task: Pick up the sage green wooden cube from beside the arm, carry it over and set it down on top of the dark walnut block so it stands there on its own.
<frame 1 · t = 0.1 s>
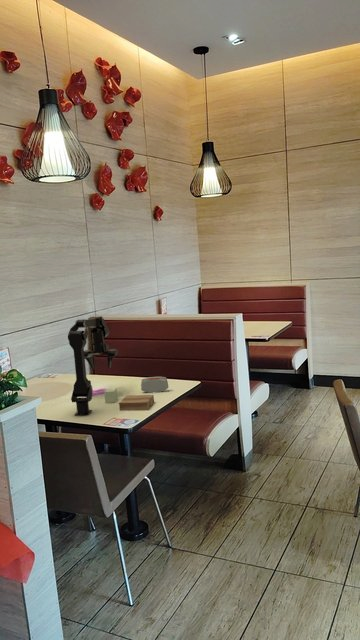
hand: (101, 369, 271), 15 cm above the table, tool pointing down, fingers open, 9 cm apart
bracket: (96, 394, 279), on the table
sage cube: (111, 401, 262), on the table
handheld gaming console: (155, 392, 272), on the table
walnut block: (137, 406, 251), on the table
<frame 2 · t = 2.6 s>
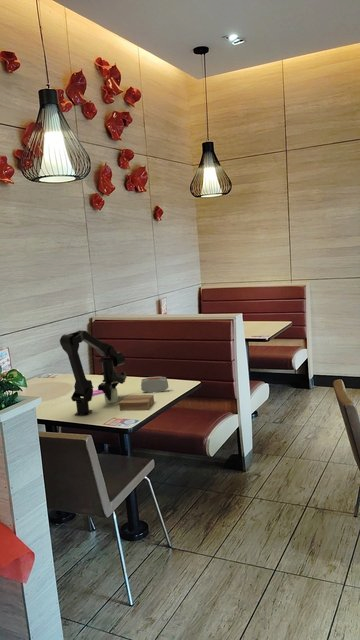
hand: (111, 398, 262), 1 cm above the table, tool pointing down, fingers closed on sage cube, 5 cm apart
sage cube: (111, 401, 262), on the table, touching gripper
everything else where it was.
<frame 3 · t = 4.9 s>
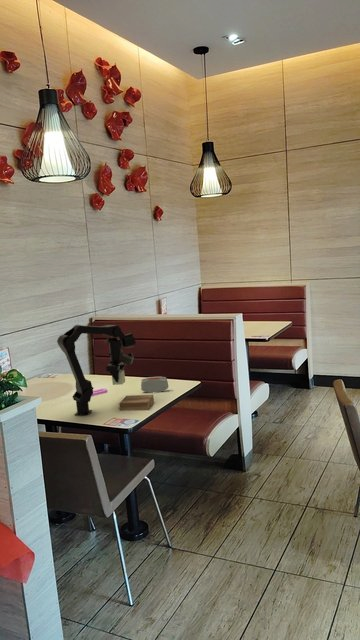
hand: (118, 380, 256), 12 cm above the table, tool pointing down, fingers closed on sage cube, 5 cm apart
sage cube: (119, 383, 256), point 10 cm above the table, touching gripper
everything else where it was.
when the fingers open (7 cm above the table, at t = 7.2 s): sage cube drops 2 cm, resting on walnut block.
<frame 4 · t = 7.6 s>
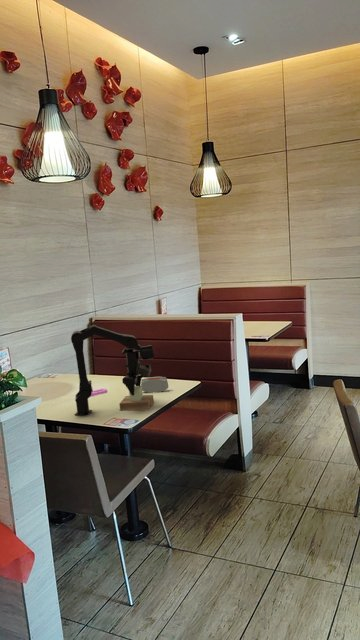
hand: (135, 392, 250), 7 cm above the table, tool pointing down, fingers open, 9 cm apart
sage cube: (136, 399, 250), point 3 cm above the table, touching walnut block
walnut block: (137, 407, 251), on the table, touching sage cube
everything else where it was.
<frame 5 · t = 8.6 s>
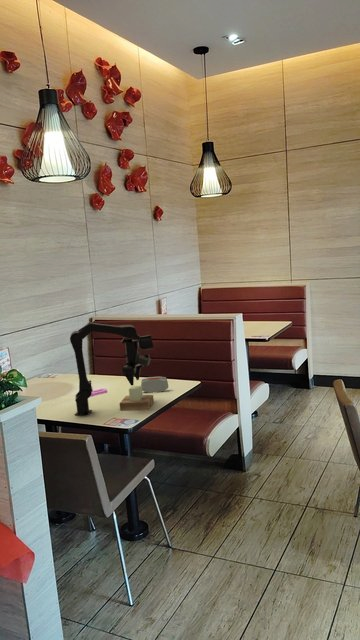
hand: (135, 382, 249), 12 cm above the table, tool pointing down, fingers open, 9 cm apart
sage cube: (136, 399, 250), point 3 cm above the table
walnut block: (137, 406, 251), on the table
everything else where it was.
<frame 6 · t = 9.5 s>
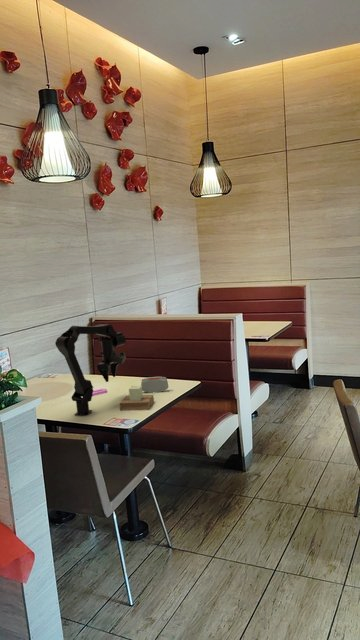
hand: (110, 379, 259), 12 cm above the table, tool pointing down, fingers open, 9 cm apart
sage cube: (136, 399, 250), point 3 cm above the table, touching walnut block
walnut block: (137, 406, 251), on the table, touching sage cube
everything else where it was.
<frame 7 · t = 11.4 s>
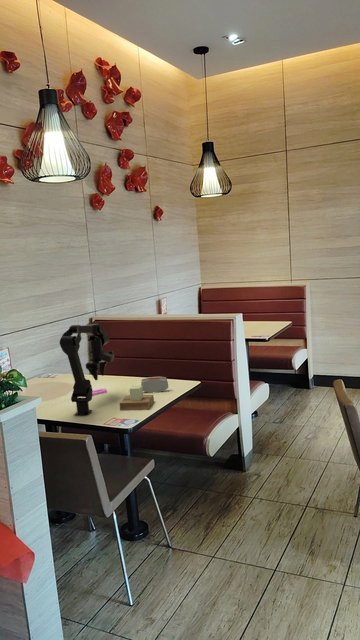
hand: (99, 377, 263), 12 cm above the table, tool pointing down, fingers open, 9 cm apart
nothing on the table moved.
at the end: sage cube inside the target area on the walnut block (0.3 cm from its centre), point 4.0 cm above the walnut block's base; sage cube touching walnut block; sage cube tilted 0° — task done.
